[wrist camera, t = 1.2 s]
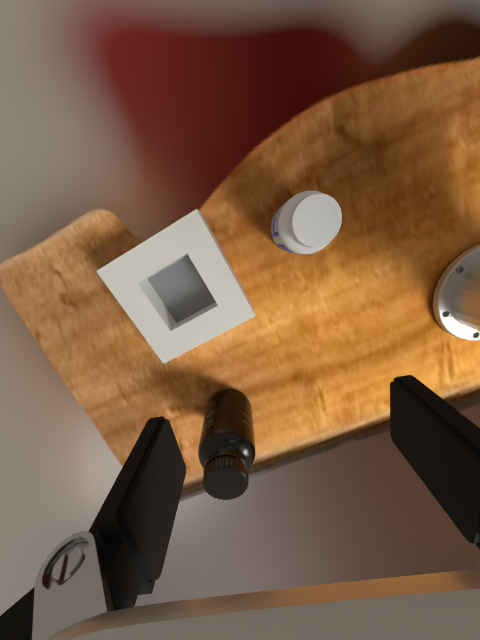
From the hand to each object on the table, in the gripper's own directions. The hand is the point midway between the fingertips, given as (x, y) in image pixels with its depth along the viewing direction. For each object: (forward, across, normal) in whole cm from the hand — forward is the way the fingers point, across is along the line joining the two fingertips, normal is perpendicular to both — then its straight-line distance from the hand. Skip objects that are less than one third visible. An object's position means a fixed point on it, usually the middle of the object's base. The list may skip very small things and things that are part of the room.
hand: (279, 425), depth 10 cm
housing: (+22, +8, -3) cm, 24 cm away
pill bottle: (+22, -6, -8) cm, 24 cm away
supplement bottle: (+22, +7, +15) cm, 28 cm away
